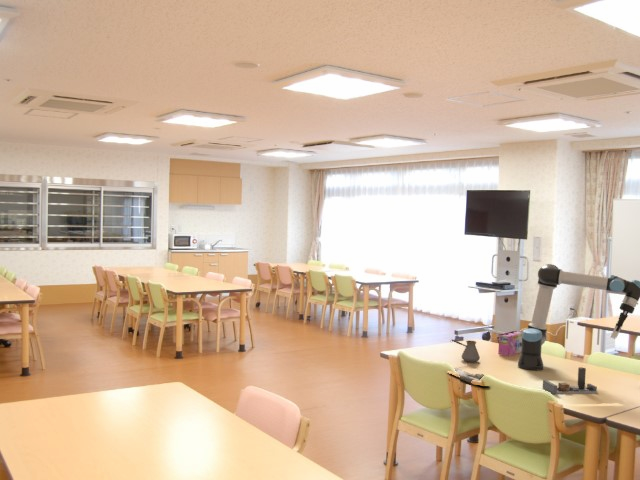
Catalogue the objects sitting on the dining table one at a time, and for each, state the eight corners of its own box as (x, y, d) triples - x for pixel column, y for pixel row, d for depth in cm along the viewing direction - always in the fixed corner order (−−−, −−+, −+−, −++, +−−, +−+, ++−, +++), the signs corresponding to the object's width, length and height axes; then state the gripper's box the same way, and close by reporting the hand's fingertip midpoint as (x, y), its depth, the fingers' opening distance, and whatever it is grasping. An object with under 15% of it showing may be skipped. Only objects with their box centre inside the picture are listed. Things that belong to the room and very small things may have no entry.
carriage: (573, 391, 315) (574, 369, 314) (568, 389, 320) (569, 367, 319) (588, 391, 316) (590, 369, 316) (583, 388, 321) (584, 366, 320)
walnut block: (562, 392, 314) (562, 384, 314) (558, 390, 318) (558, 382, 318) (569, 392, 315) (569, 384, 315) (565, 389, 319) (565, 382, 319)
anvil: (553, 394, 310) (553, 385, 310) (542, 388, 321) (542, 380, 321) (556, 394, 310) (557, 385, 310) (546, 388, 321) (546, 380, 321)
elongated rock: (456, 373, 356) (443, 376, 352) (456, 365, 356) (442, 367, 352) (495, 386, 324) (480, 389, 320) (495, 377, 324) (480, 379, 320)
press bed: (553, 396, 310) (553, 388, 310) (542, 390, 321) (542, 382, 321) (599, 396, 314) (599, 388, 314) (586, 389, 325) (587, 382, 324)
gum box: (514, 349, 422) (515, 330, 421) (525, 351, 416) (526, 332, 416) (497, 354, 405) (498, 334, 405) (508, 356, 400) (509, 336, 399)
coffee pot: (472, 358, 389) (473, 336, 389) (483, 363, 379) (484, 339, 378) (444, 360, 381) (445, 337, 381) (455, 365, 371) (456, 341, 370)
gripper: (637, 305, 341) (621, 338, 340) (633, 310, 363) (618, 341, 363) (623, 299, 344) (608, 332, 344) (620, 304, 367) (605, 335, 366)
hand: (613, 337), depth 353 cm, fingers open, 13 cm apart
